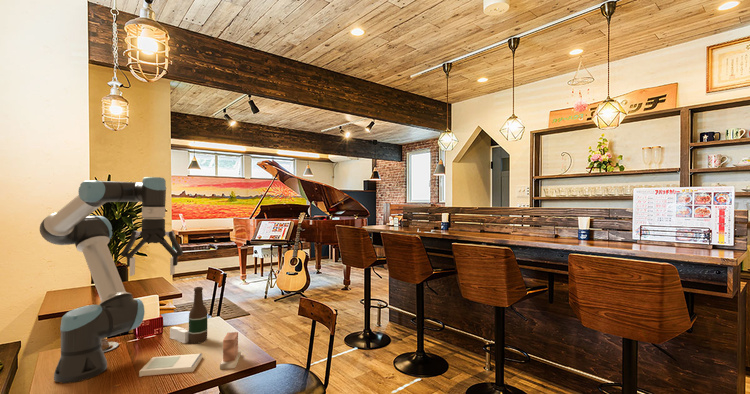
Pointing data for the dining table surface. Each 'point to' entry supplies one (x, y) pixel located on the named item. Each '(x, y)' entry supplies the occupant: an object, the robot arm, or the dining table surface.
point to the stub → (230, 351)
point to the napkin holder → (179, 334)
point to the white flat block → (171, 364)
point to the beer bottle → (198, 319)
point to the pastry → (107, 345)
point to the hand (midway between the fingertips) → (152, 274)
